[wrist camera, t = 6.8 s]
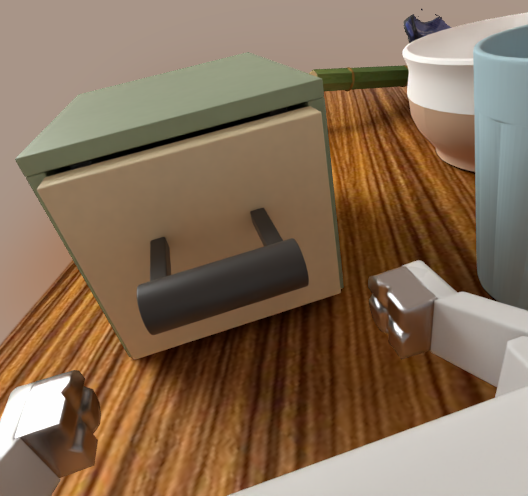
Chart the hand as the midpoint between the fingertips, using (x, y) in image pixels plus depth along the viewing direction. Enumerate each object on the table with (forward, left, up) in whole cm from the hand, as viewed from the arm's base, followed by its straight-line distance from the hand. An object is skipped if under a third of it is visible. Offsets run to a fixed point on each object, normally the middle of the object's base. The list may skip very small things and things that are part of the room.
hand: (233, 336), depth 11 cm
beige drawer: (+5, +8, -5) cm, 11 cm away
